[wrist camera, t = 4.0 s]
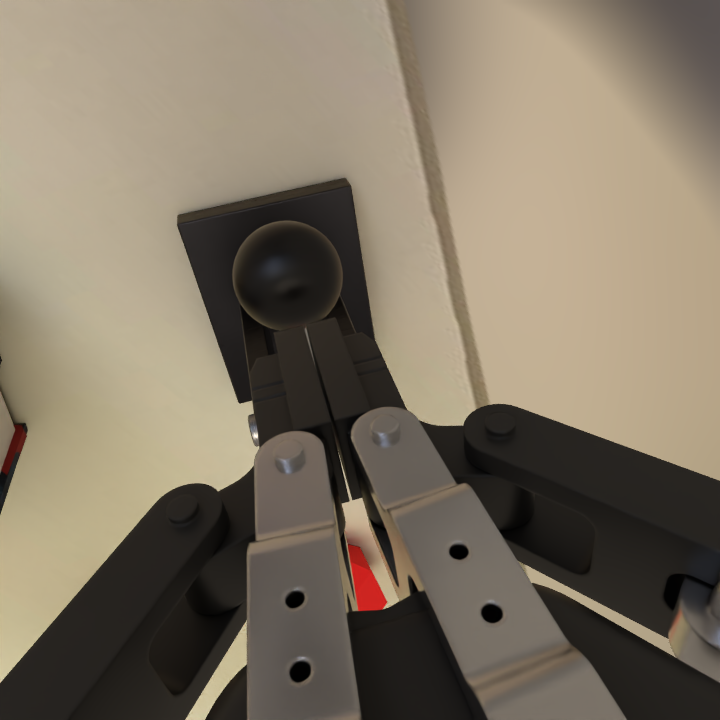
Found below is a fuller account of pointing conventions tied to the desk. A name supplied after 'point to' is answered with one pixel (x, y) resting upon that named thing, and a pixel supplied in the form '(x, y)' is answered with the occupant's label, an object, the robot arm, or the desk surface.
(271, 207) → the bracket
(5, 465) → the book
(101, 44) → the desk surface
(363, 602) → the apple
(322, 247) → the lever
